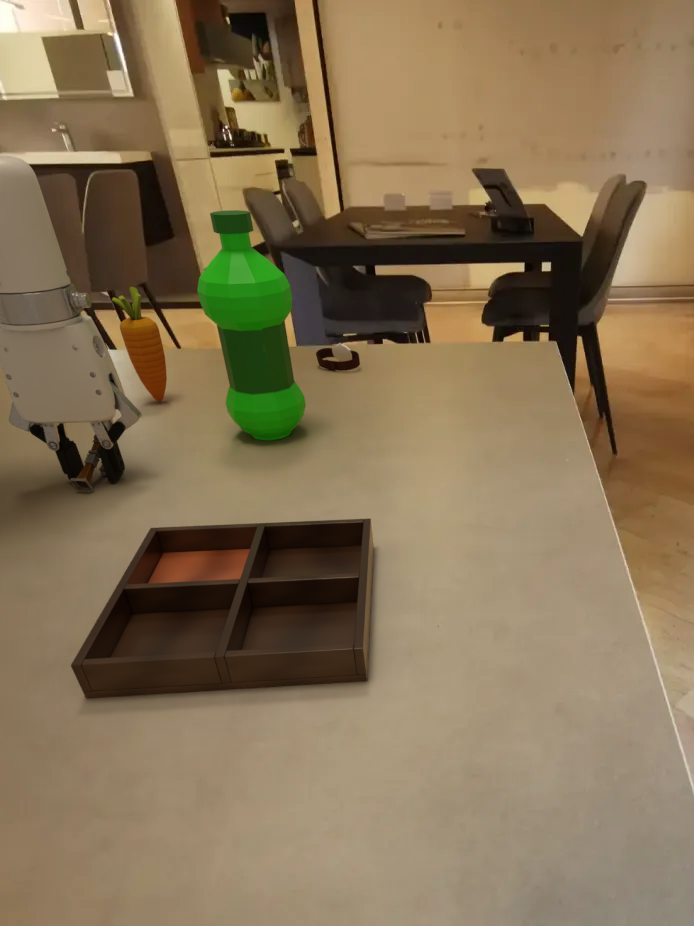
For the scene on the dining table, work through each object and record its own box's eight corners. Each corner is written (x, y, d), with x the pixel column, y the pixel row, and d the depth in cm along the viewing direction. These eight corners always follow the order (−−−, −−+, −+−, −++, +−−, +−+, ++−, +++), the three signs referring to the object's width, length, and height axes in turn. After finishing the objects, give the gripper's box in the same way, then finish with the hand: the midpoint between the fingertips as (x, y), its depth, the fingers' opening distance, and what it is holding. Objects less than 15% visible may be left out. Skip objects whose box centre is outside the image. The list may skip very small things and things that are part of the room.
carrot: (156, 409, 99) (123, 294, 90) (134, 403, 102) (99, 289, 92) (185, 400, 103) (155, 287, 94) (163, 394, 105) (132, 283, 96)
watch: (366, 366, 117) (364, 343, 114) (352, 374, 113) (349, 350, 111) (326, 361, 119) (323, 338, 117) (311, 368, 115) (307, 345, 113)
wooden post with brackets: (126, 454, 84) (107, 426, 80) (104, 506, 81) (84, 479, 77) (111, 454, 84) (92, 426, 80) (89, 506, 81) (68, 479, 77)
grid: (85, 698, 51) (70, 665, 49) (159, 556, 67) (150, 527, 65) (367, 680, 53) (363, 648, 51) (373, 546, 69) (370, 518, 67)
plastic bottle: (293, 414, 98) (258, 205, 83) (322, 437, 91) (290, 214, 76) (222, 428, 94) (171, 210, 79) (247, 454, 87) (197, 221, 72)
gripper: (133, 297, 73) (179, 463, 85) (-34, 299, 72) (36, 468, 83) (110, 313, 67) (163, 489, 79) (-72, 317, 66) (8, 495, 77)
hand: (97, 477), depth 81 cm, fingers open, 3 cm apart
